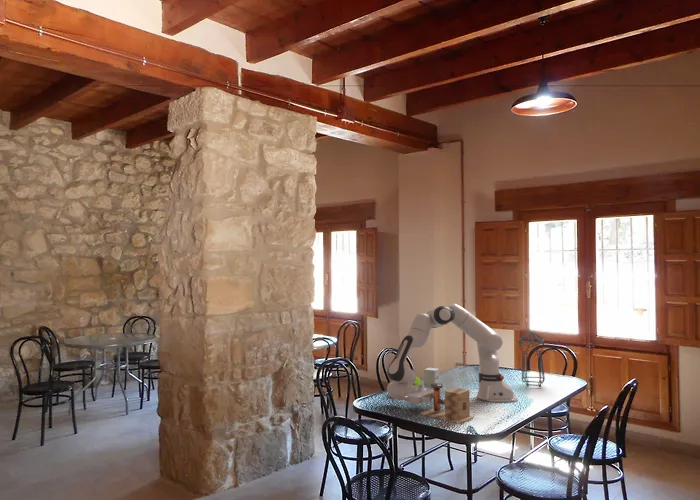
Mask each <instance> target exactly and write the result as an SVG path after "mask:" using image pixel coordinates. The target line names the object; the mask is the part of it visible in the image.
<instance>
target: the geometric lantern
mask: <svg viewBox="0 0 700 500" xmlns="http://www.w3.org/2000/svg"><path fill="white" fill-rule="evenodd" d="M527 337H528V338H527ZM533 338H534V339H533ZM518 339H519V340H518V343H519V347H520V351H521V358H522V359H521V382H523V383H524V384H525V385H526V388H527V387H530V386H534V384H532V383H538V384H537V385H539V386H538V388H539V387H541V388H542V385H543V384H544V382H545V380H546V377H545V370H544V361H543V360H544V359H543V353H542V352H543V348H544V345H545V338H544V337H541V336H540V335H539V334H537V333H535V332H534V331H528V332H527V333H525V334H524V335H522V336H521V337H519V338H518ZM533 341H534V342H533ZM525 343H526V344H525ZM541 343H542V344H541ZM540 344H541V349H539V348H538V346H539V345H540ZM523 345H524V346H525V347H527V348H526V349H525V347H524V346H523ZM530 345H531V346H530ZM535 347H537V350H536V348H535ZM529 348H533V350H534V352H536V355H537V365H538V373H539V374H538V375H539V376H528V367H527V366H528V360H527V359H528V349H529ZM529 378H533V379H539V381H533V380H532V381H531V380H528V379H529ZM541 379H542V380H541ZM529 383H531V384H529Z"/></svg>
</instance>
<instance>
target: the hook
mask: <svg viewBox="0 0 700 500" xmlns="http://www.w3.org/2000/svg"><path fill="white" fill-rule="evenodd" d="M443 386H444V385H443V383H440V382H439V383H432V384H431V387H432V388H433V399H432V400H433V408H434V411H440V409H441V405H444V406H445V398H443V399H442V398H440V395H441V389H442V388H443ZM463 407H464V404H463Z"/></svg>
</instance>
